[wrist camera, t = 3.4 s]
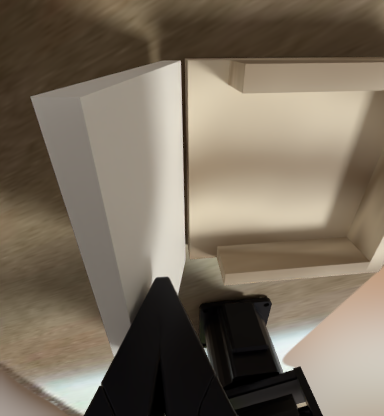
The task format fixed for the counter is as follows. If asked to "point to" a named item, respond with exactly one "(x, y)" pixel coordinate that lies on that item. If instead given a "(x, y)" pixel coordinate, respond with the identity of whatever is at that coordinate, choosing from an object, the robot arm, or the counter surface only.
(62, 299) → the counter surface
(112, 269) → the panel
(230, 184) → the tray
